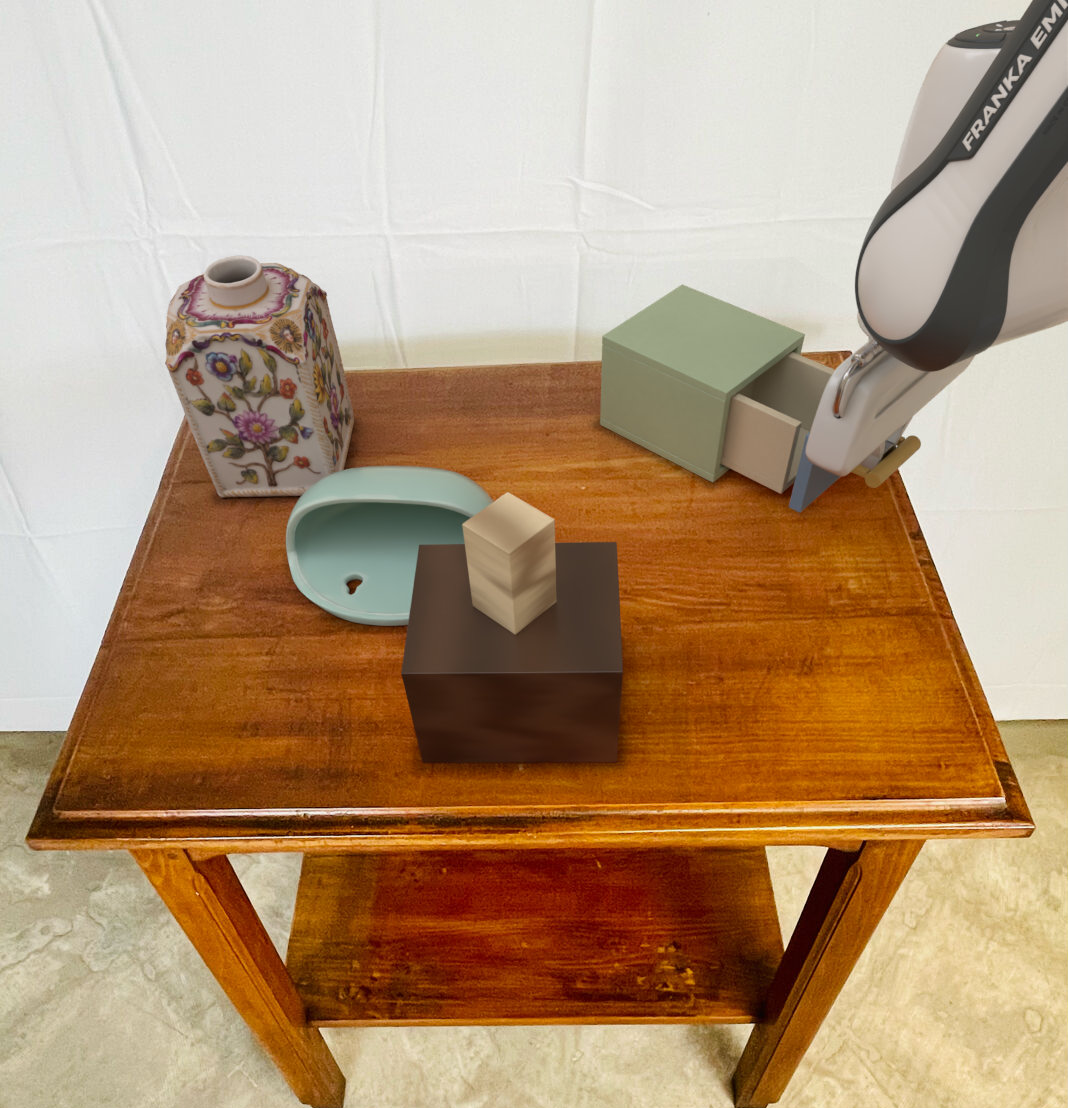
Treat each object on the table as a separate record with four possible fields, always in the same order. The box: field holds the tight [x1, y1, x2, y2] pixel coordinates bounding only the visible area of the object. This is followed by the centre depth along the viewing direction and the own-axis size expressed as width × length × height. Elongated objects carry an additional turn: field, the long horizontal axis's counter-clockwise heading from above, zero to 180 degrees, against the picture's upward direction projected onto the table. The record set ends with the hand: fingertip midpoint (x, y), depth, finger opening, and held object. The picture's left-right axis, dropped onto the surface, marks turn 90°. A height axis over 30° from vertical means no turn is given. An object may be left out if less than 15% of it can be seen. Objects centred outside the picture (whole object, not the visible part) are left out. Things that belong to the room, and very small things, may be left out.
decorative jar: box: [164, 255, 355, 499], centre depth 79 cm, size 12×12×18 cm
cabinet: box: [599, 284, 806, 484], centre depth 83 cm, size 14×12×9 cm
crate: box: [400, 541, 624, 764], centre depth 64 cm, size 14×12×10 cm
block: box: [462, 491, 556, 635], centre depth 57 cm, size 4×4×7 cm
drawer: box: [720, 351, 922, 514], centre depth 78 cm, size 18×10×7 cm, turn 47°
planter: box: [285, 465, 495, 627], centre depth 75 cm, size 19×7×16 cm
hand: (873, 462), depth 76 cm, fingers closed, pressing on drawer
